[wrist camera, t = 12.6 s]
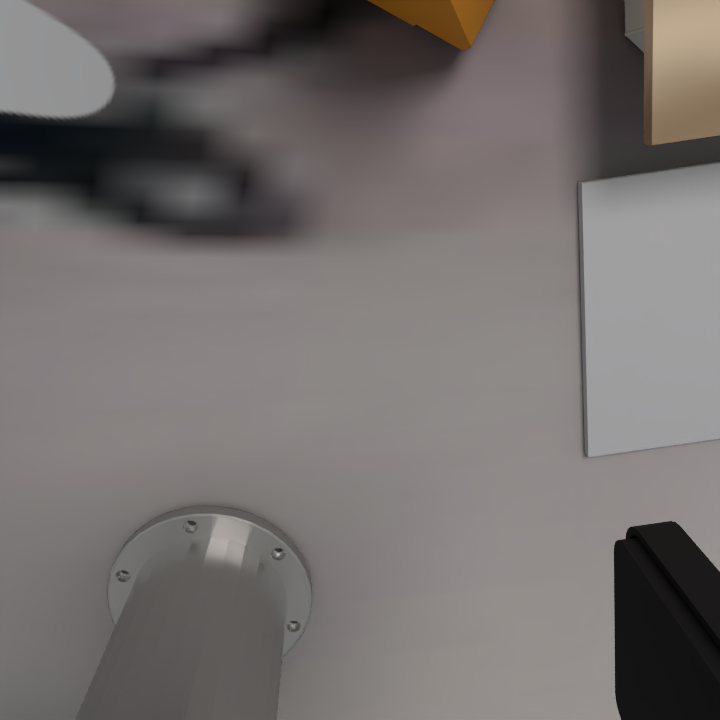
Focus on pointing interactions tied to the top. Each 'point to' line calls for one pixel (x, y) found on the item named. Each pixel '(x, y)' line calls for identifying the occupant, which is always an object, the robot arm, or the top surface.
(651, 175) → the mat
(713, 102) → the lid
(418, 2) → the bracket
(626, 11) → the bowl
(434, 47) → the top surface
